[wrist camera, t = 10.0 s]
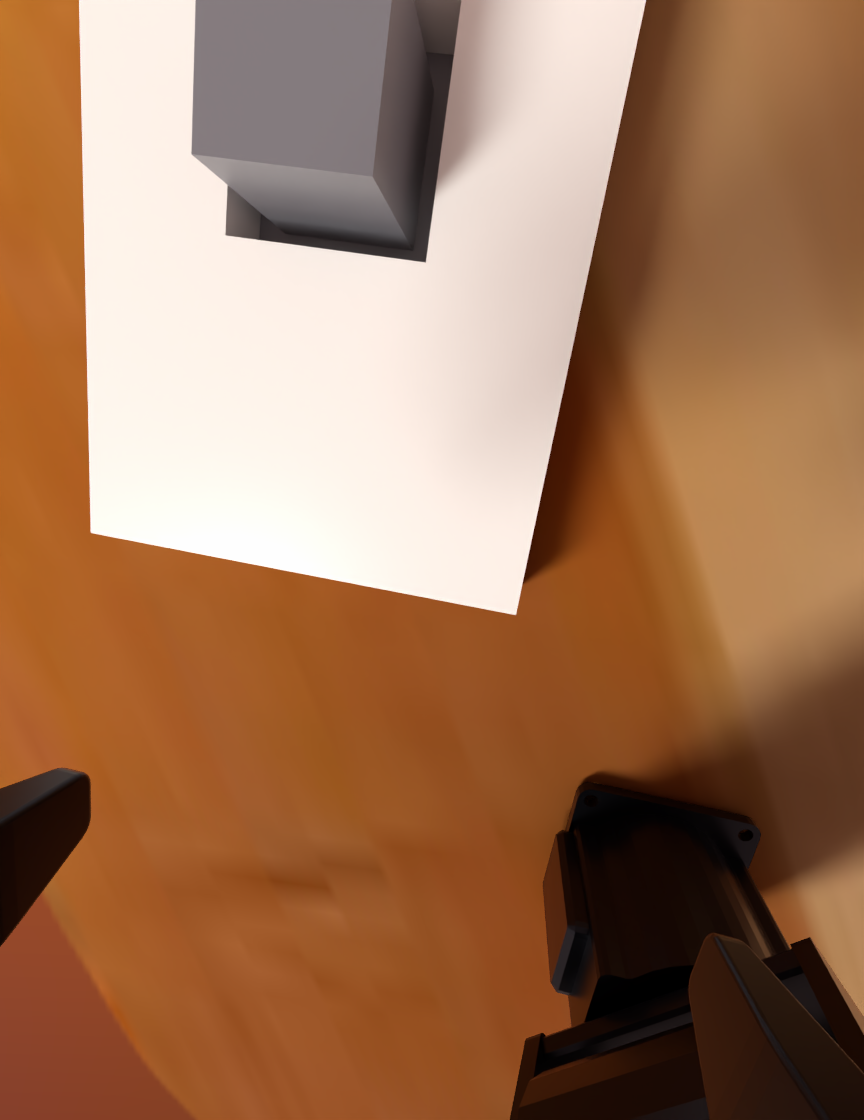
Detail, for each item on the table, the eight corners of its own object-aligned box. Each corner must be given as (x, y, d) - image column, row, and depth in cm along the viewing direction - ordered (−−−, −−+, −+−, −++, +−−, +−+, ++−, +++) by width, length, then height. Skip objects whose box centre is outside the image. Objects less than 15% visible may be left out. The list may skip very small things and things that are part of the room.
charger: (434, 90, 15) (398, -70, 10) (413, 251, 16) (373, 176, 11) (296, 75, 15) (197, -85, 10) (285, 233, 16) (191, 154, 11)
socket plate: (651, -66, 14) (682, -170, 11) (514, 589, 18) (515, 615, 16) (144, -104, 15) (74, -205, 12) (141, 519, 20) (90, 532, 17)
